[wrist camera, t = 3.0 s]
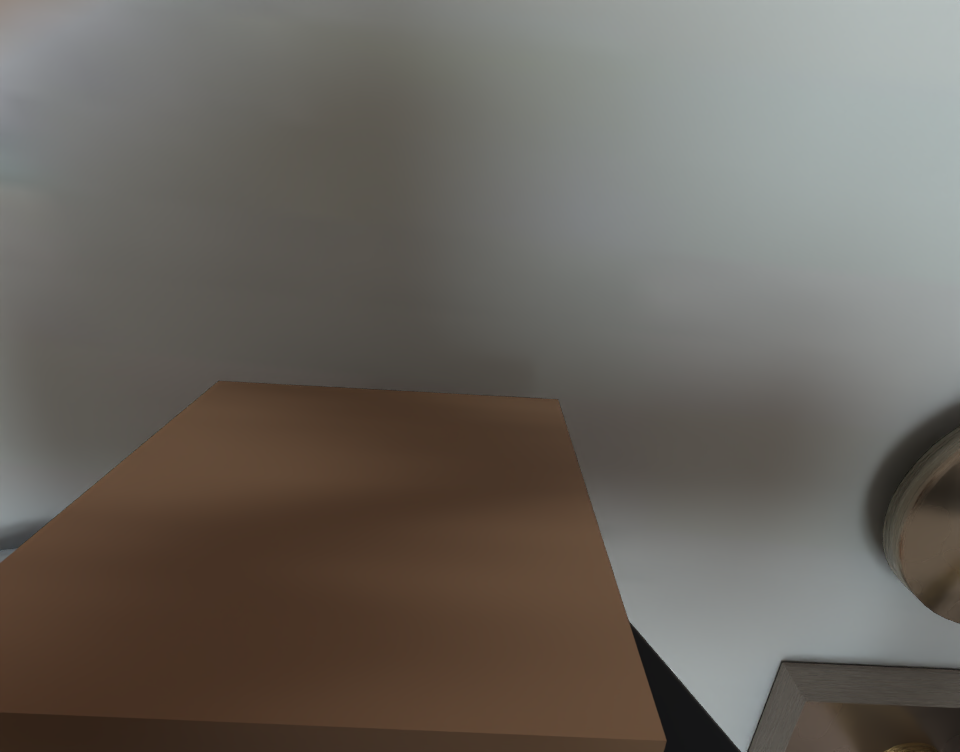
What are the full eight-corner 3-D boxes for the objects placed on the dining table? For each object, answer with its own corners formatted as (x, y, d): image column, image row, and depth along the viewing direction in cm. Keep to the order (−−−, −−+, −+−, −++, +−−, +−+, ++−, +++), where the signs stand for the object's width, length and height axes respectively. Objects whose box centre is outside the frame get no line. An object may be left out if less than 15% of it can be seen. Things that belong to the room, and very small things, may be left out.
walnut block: (557, 398, 8) (667, 740, 3) (527, 646, 10) (568, 1086, 5) (218, 380, 8) (-172, 705, 3) (253, 634, 10) (42, 1069, 5)
